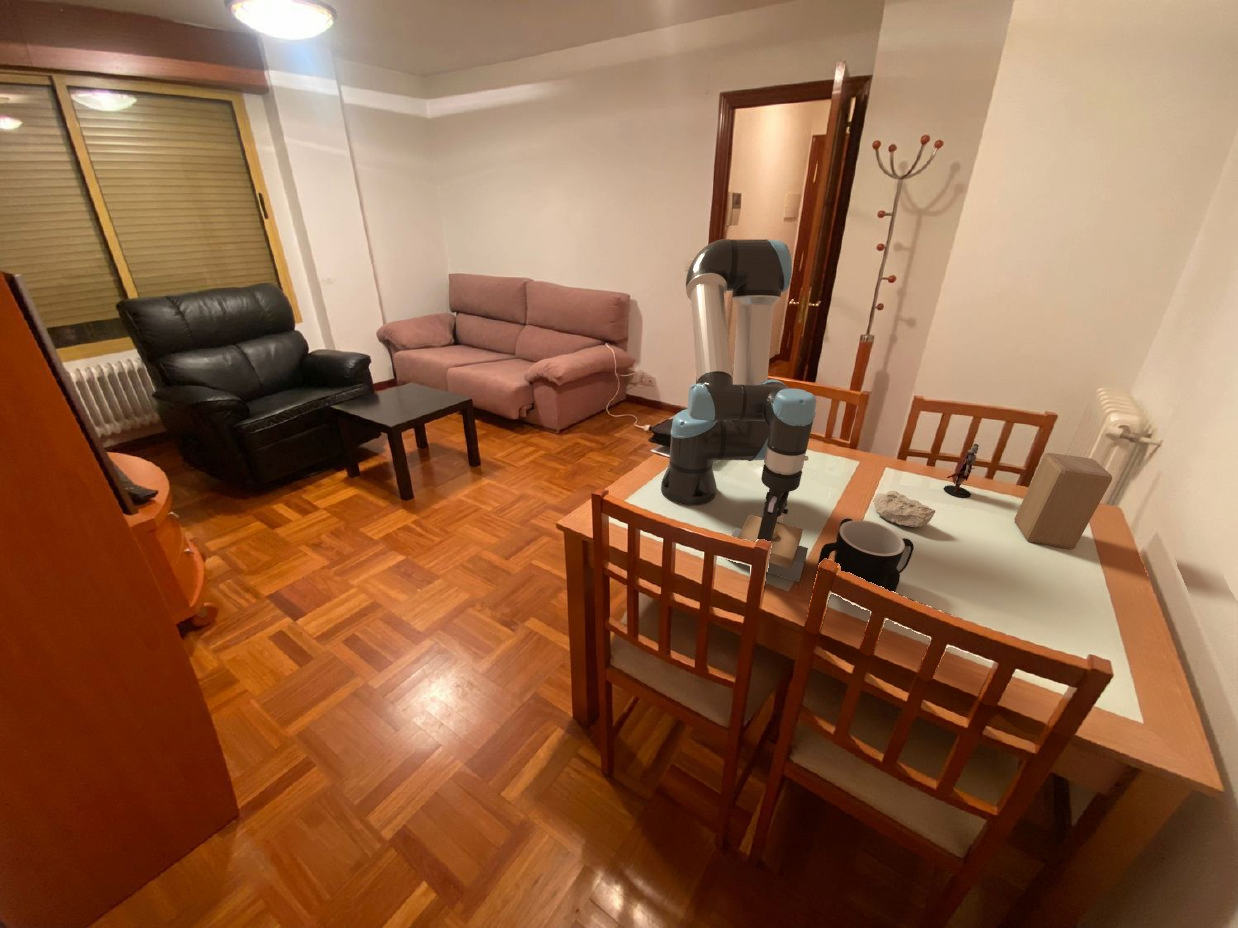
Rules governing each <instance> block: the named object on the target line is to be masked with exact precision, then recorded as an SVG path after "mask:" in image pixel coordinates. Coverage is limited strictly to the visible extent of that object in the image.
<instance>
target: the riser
mask: <svg viewBox="0 0 1238 928" xmlns="http://www.w3.org/2000/svg"><path fill="white" fill-rule="evenodd" d="M741 530H742V528H739V527H735V529H734V530H733V532H732V533H731V536H733V537H738V535H739V533H740V531H741ZM808 550H809V548H808V547H807V546H806V547H805V546H802V545H799V546H798V549H797V552H796V555H795V558H794V561H793V564H792V567H791V569H789V568H786V567H783V566H780V565H776V564H773V563H770V562H769V568H768V572H767V573H768V574H771V575H774V576H778V577H781V578H785V579H788V580H790V581H794V582H797V583H800V580H801V577H802V573H803V570H804V568H805V563H806V560H807V555H808Z"/></svg>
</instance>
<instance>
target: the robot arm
mask: <svg viewBox="0 0 1238 928" xmlns="http://www.w3.org/2000/svg"><path fill="white" fill-rule="evenodd" d="M790 251H791V250H790V249H789V246H788V245H787V244H786V242H784V241H782V240H774V239H768V238H766V239H729V238H722V239H717V240H714V241H712V242H711V243H709V244H707V245H706V246H704V247H703V248H702V249H701V250H700V251H699V252H698V253H697V254H696V255H695V257H694V259H693V260H692V262H691V263H690V266H689V268H688V270H687V274H686V276H685V277H686V279H685V291H686V296H687V298H688V299H689V300H690V304H691V315H692V317H691V319H692V328H693V329H692V330H693V331H692V332H693V343H694V345H693V346H694V358H695V361H694V362H695V372H696V373H695V374H696V383H693V384H691V385H690V386H689V389H688V394H687V402H688V403H687V408H686V409H683V410H681V411H679V412H677V413H676V414H675V416H673V419H672V424H671V429H670V448H669V462H668V463H669V464H668V466H667V469H666V470H665V473H664V475H663V477H662V479H661V484H660V485H661V486H660V490H661V493H662V495H663V496H664V497H665V498H666V499H668V500H669V501H672V502H673V503H676V504H679V505H683V506H700V505H704V504H705V505H706V504H707V503H710V502H711V501H713V500H714V499H715V497H716V495H717V483H716V482H717V481H716V479H715V474H714V470H713V465H714V461H747V462H753V461H763V463H764V464H763V467H762V473H761V482H762V484H763V485H764V486H765V487H767V488H768V491H767V492H766V495H765V502H764V508H763V513H762V517H761V518H762V521H761V525H760V529H759V533H758V537H757V539H765V540H767V541H771V540H772V536H773V533H774V529H775V525H776V522H779V523H783V522H784V517H785V515H788V512H789V509H788V508H786V507H787V506H788V497H789V495H790V492H793V491H796V490H797V489H799V487H800V484H801V480H802V475H803V471H802V470H803V468H804V464H805V462H808V460H809V456H808V455H806V454H807V450H808V446H809V440H810V437H811V433H812V429H813V424H814V420H815V417H816V407H817V398H816V396H815V395H814V394H813V393H812V392H808V391H807V390H806V389H802V388H801V389H800V388H790V387H789V386H787V385H786V384H785V383H784V382H782V381H781V380H779V379H773V378H772V379H769V378H768V377H769V365H770V353H771V342H772V340H771V339H772V328H773V316H774V307H775V305H776V304H777V303H778V302H779V301H780V300H781V297H782V293H784V292H786V291H787V290H788V288H789V287H790V284H791V279H792V276H793V275H792V274H793V262H792V261H793V260H792V254H791V252H790ZM727 292H731V293H732V296H731V300H732V301H733V302H734V303H735V305H736V306H737V313H736V328H735V343H734V344H735V345H734V357H733V371H732V360H731V359H732V358H731V352H730V341H729V329H728V323H727V321H728V320H727V313H726V311H727V310H726V303H725V294H726V293H727ZM754 542H755V541H754Z"/></svg>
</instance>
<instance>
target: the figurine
mask: <svg viewBox="0 0 1238 928" xmlns="http://www.w3.org/2000/svg"><path fill="white" fill-rule="evenodd" d="M979 446H980V445H979V444H977V443H974V444H973V445H972V446H971V448H970V449H967V450H966V451H965V453H964V457H963V460H962V462H961V463H960V464H959V466H958V467H957V469H956V471H955V472H953V474H951V475H948V476H946V478H947V479H950V478H952V483H953V484H954V485H950V484H949V485H945V486H944V487H943V491H944V493H946V494H948V495H949V496H952V497H954V498H955V497H956V498H957V499H958V498H959V499H969V498H970V497H971V496H972V493H971V492H970V491H969V490H968V489H966V488H965V487H962V486H961V485H962V483H964V482H965V481H968V480H969V476H970V475H971V473H973V472H972V470H975V467H973V465H974V464H975V462H976V459H977V455H976V454H978V451H979Z"/></svg>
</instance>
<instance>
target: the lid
mask: <svg viewBox="0 0 1238 928" xmlns="http://www.w3.org/2000/svg"><path fill="white" fill-rule="evenodd" d="M761 521H762V517H761V516H757V515H753V514H751V513H750V514H748V517H747V519H746V520H745V522H744V524H743V525H742V527H741V529H742V530H741V531H740V533H739V535H738V537H737V538H739V539H747V540H750V541H752V542H754V541H756V540H757V537H758V533H759V529H760V525H761ZM803 532H804V528H802V527H797V526H795V525H794V526H793V525H790V524H787V523H783V522H782V523H779V522H776V525H775V529H774V533H773V536H772V540H771V543H772V548H771V554H770V559H769V562H770V563H773V564H776V565H780V566H783V567H786V568H789V569H791V567H792V564H793V561H794V558H795V555H796V552H797V549H798V546H800V542H801V539H802V536H803Z"/></svg>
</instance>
